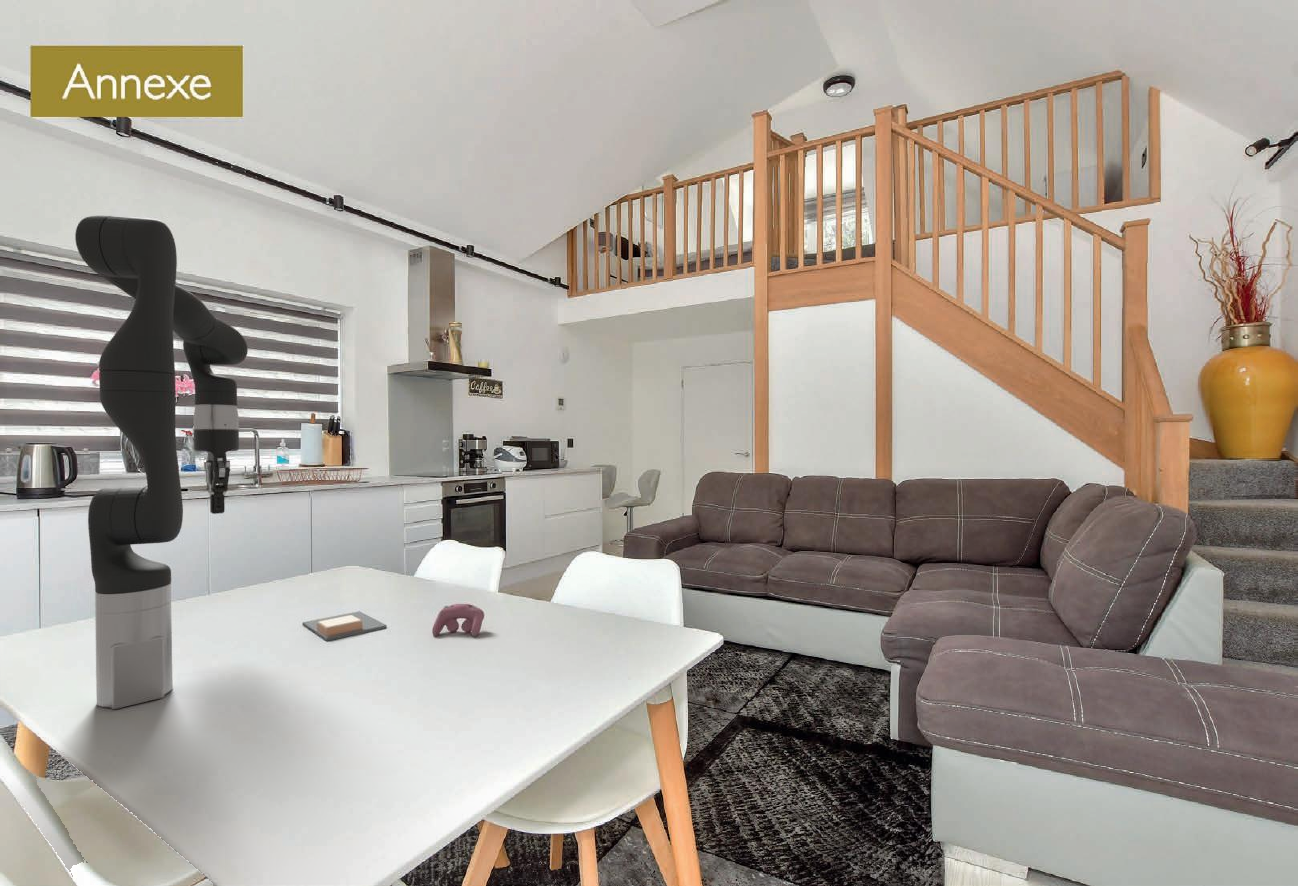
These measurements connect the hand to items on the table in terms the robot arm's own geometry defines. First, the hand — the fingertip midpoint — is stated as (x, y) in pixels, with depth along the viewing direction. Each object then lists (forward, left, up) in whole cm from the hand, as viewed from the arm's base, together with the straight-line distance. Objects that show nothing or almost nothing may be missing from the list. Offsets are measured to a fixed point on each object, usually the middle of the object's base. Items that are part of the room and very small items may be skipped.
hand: (217, 513), depth 124 cm
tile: (-12, -23, -25) cm, 36 cm away
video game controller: (-31, -36, -26) cm, 55 cm away
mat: (-9, -21, -26) cm, 35 cm away
